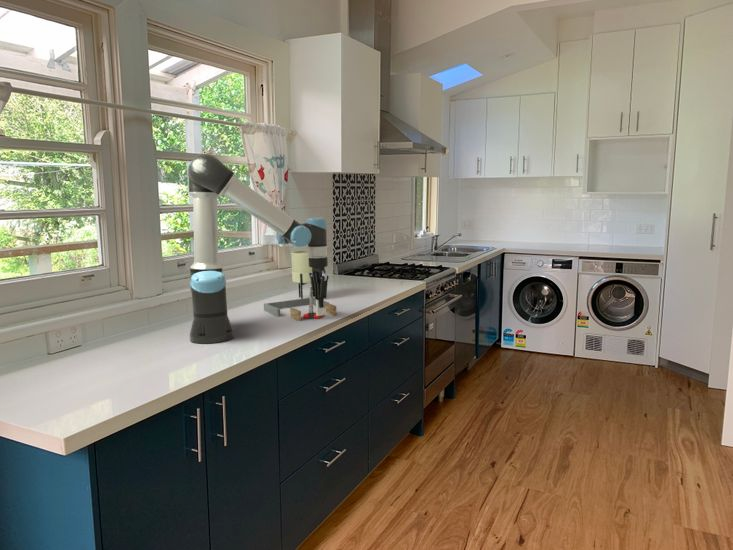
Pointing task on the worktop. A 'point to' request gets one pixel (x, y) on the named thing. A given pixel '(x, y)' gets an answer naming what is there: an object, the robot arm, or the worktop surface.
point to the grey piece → (287, 305)
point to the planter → (301, 269)
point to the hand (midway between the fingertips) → (320, 315)
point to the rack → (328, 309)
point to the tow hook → (311, 309)
